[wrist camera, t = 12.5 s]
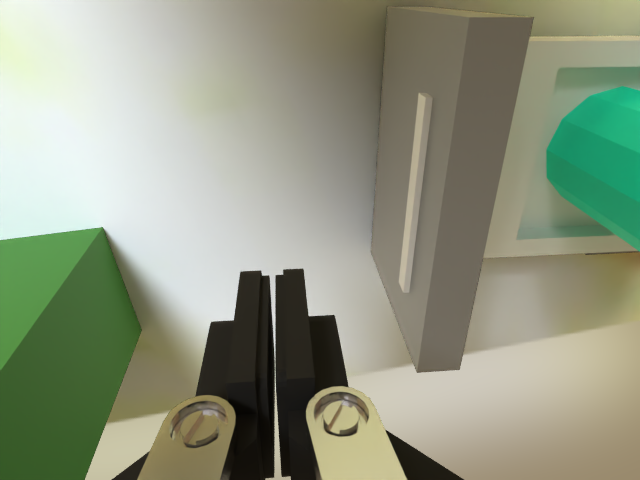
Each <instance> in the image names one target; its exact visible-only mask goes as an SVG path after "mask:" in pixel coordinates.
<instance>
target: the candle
mask: <svg viewBox="0 0 640 480" xmlns="http://www.w3.org/2000/svg"><path fill="white" fill-rule="evenodd" d="M546 169H547V179H548V180H549V181H550V182H551V184H552V185H553V186H554V188H555V189H556V190H557V191H558V193H559V194H560V195H561V196H562V197H563V198H564V199H566V200H567V201H569V202H570V203H572V204H573V205H574V206H576V207H577V208H579V209H580V210H581V211H583V212H584V213H586V214H587V215H589V216H590V217H591V218H593V219H594V220H596V221H597V222H598V223H600V224H601V225H603V226H604V227H605V228H607V229H608V230H610V231H611V232H613V233H614V234H615V235H617V236H618V237H620V238H621V239H622V240H624V241H625V242H627V243H628V244H630V245H631V246H632V247H634V248H635V249H637V250H638V251H639V252H640V91H639V90H636V89H632V88H628V87H624V86H621V87H617V88H614V89H610V90H607V91H603V92H600V93H596V94H593V95H590V96H589V97H587V98H586V99H585V100H584V101H583V102H582V103H580V104H579V105H578V106H577V107H576V108H574V109H573V110H572V111H571V112H570V113H569V114H567V115H566V116H565V117H564V118H563V119H562V120H561V122H560V124H559V126H558V128H557V130H556V132H555V134H554V135H553V137H552V139H551V141H550V143H549V145H548V147H547V149H546Z"/></svg>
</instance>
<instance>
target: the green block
mask: <svg viewBox="0 0 640 480" xmlns="http://www.w3.org/2000/svg"><path fill="white" fill-rule="evenodd" d="M141 331H142V330H141V327H140V324H139V322H138V319H137V316H136V314H135V311H134V309H133V306H132V303H131V301H130V298H129V295H128V293H127V290H126V287H125V285H124V282H123V280H122V277H121V274H120V272H119V269H118V266H117V264H116V261H115V258H114V256H113V253H112V251H111V248H110V245H109V243H108V240H107V237H106V235H105V232H104V229H103V227H102V228H94V229H86V230H78V231H70V232H62V233H54V234H46V235H38V236H30V237H22V238H14V239H7V240H0V480H85V477H86V474H87V472H88V469H89V466H90V464H91V461H92V459H93V456H94V454H95V451H96V448H97V446H98V443H99V441H100V438H101V435H102V433H103V430H104V427H105V425H106V422H107V420H108V417H109V414H110V412H111V409H112V407H113V404H114V401H115V399H116V396H117V393H118V391H119V388H120V386H121V383H122V380H123V378H124V375H125V372H126V370H127V367H128V365H129V362H130V359H131V357H132V354H133V352H134V349H135V346H136V344H137V341H138V338H139V336H140V333H141Z"/></svg>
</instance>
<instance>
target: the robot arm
mask: <svg viewBox="0 0 640 480" xmlns="http://www.w3.org/2000/svg"><path fill="white" fill-rule="evenodd" d="M283 274H284V275H276V394H277V411H278V425H279V442H280V457H281V474H282V477H287V476H291V480H464V479H462V478H460V477H459V476H457V475H456V474H454V473H453V472H451V471H449V470H448V469H446V468H445V467H443V466H442V465H440V464H439V463H437V462H435V461H434V460H432V459H431V458H429V457H427V456H426V455H424V454H423V453H421V452H420V451H418V450H417V449H415V448H413V447H412V446H410V445H409V444H407V443H406V442H404V441H402V440H401V439H399V438H398V437H396V436H394V435H393V434H391V433H390V432H388V431H387V430H385V428H384V427H383V424H382V422H381V420H380V417H379V415H378V413H377V410H376V408H375V406H374V404H373V403H372V401H371V400H370V398H368V397H367V396H366V395H365V394H364V393H362V392H360V391H358V390H355V389H354V388H350V387H348V382H347V376H346V371H345V366H344V361H343V355H342V350H341V345H340V340H339V335H338V329H337V324H336V319H335V316H334V315H326V316H308V308H307V299H306V289H305V280H304V270H303V269H286V270H283ZM274 395H275V360H274V341H273V325H272V309H271V293H270V278H269V276H262V273H261V271H243V272H240V279H239V286H238V294H237V301H236V309H235V317H234V321H216V322H211V324H210V328H209V333H208V338H207V343H206V348H205V353H204V358H203V362H202V367H201V372H200V377H199V382H198V387H197V392H196V397H193V398H190V399H187V400H185V401H183V402H182V403H180V404H178V405H177V406H176V407H175V408H173V409H172V410H171V411H170V412H169V413H168V415H167V417H166V418H165V420H164V422H163V424H162V426H161V428H160V430H159V433H158V435H157V437H156V439H155V441H154V443H153V446H152V448H151V450H150V451H149V452H148V453H147V454H145V455H144V456H143V457H141V458H140V459H139V460H137V461H136V462H135V463H133V464H132V465H131V466H129V467H128V468H127V469H125V470H124V471H123V472H121V473H120V474H119V475H117V476H116V477H115V478H114V479H112V480H265V478H273V477H274V403H275V401H274V400H275V398H274V397H275V396H274Z"/></svg>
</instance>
